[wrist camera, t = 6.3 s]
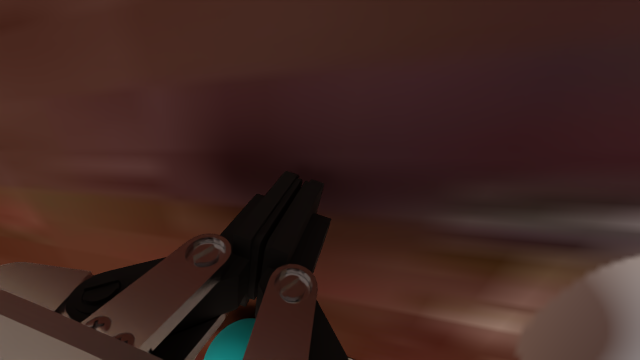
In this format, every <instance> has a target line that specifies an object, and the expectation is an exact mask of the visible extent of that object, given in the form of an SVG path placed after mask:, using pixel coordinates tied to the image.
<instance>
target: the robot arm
mask: <svg viewBox="0 0 640 360" xmlns="http://www.w3.org/2000/svg"><path fill="white" fill-rule="evenodd" d="M298 178H299V175H297V174H294V173H291V172H288V171H285V172H284V173H283V174H282V176H281V177H280V178H279V179H278V181H277V182H276V183H275V184H274V185H273V187H272V188H271V189H270V190H269V191H268V193H267V194H266V195H265V196H263V195H260V194H256V195H255V196H254V197H253V198H252V200H251V201H250V202H249V203H248V204H247V205H246V206H245V207H244V209H243V210H242V211H241V212H240V213H239V214H238V215H237V216H236V218H235V219H234V220H233V221H232V222H231V223H230V224H229V225H228V227H227V228H226V229H225V230H224V231H223V232H222V233H221V235H217V234H202V235H199V236H196V237H194V238H192V239H190V240H189V241H187V242H186V243H184V244H183V245H182V246H181V247H179V248H178V249H177V250H175V251H174V252H173V253H171V254H170V255H169V256H167V257H165V258H161V259H157V260H152V261H148V262H144V263H140V264H136V265H132V266H128V267H123V268H119V269H115V270H111V271H107V272H103V273H100V274H98V275H92V273H91V271H84V270H77V269H69V268H62V267H55V266H48V265H41V264H34V263H27V262H15V263H10V264H6V265H2V266H0V360H193V359H194V358H195V356H196V355H197V354H198V353H199V351H200V350H201V349H202V347H203V346H204V345H205V344H206V342H207V341H208V340H209V339H210V337H211V336H212V335H213V334H214V332H215V331H216V330H217V329H218V327H219V326H220V325H221V324H222V322H223V321H224V320H225V318H226V317H227V315H228V313H229V312H230V311H233V310H235V309H237V308H238V306H239V305H242V306H244V307H245V306H246V305H247V303H248V301H249V299H253V300H255V298H256V297H257V300H256V308H255V319H256V320H255V323H254V326H253V330H252V333H251V336H250V339H249V342H248V345H247V348H246V351H245V354H244V357H243V360H349V359H348V357H347V355H346V353H345V352H344V350H343V348H342V346H341V344H340V342H339V340H338V339H337V337H336V335H335V333H334V331H333V329H332V328H331V326H330V324H329V322H328V320H327V318H326V316H325V315H324V313H323V311H322V309H321V307H320V305H319V304H318V302H317V300H316V298H317V290H318V289H317V281H316V278H315V276H314V275H313V272H314V269H315V266H316V263H317V261H318V258H319V255H320V252H321V249H322V246H323V243H324V240H325V237H326V234H327V231H328V228H329V225H330V221H331V219H330V218H327V217H324V216H321V215H318V214H316V213H317V209H318V205H319V202H320V198H321V194H322V190H323V186H324V183H322V182H318V181H315V180H312V179H311V180H310V182H307V181H305V182H304V184H303V185H302V180H301V179H298ZM301 185H302V187H301Z"/></svg>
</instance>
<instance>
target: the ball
mask: <svg viewBox="0 0 640 360" xmlns="http://www.w3.org/2000/svg"><path fill="white" fill-rule="evenodd" d="M255 320H256V319H254V318H247V319H242V320H238V321H236V322H234V323H232V324H230V325H228V326H227V327H226V328H224V329H223V330H222V331H221V332H220V333H219V334H218V335H217V336H216V337H215V339H214V340H213V341H212V343H211V344H210V346H209V348H208V350H207V352H206V355H205V357H204V360H243V357H244V354H245V351H246V348H247V345H248V342H249V339H250V336H251V333H252V330H253V326H254V323H255Z"/></svg>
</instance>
